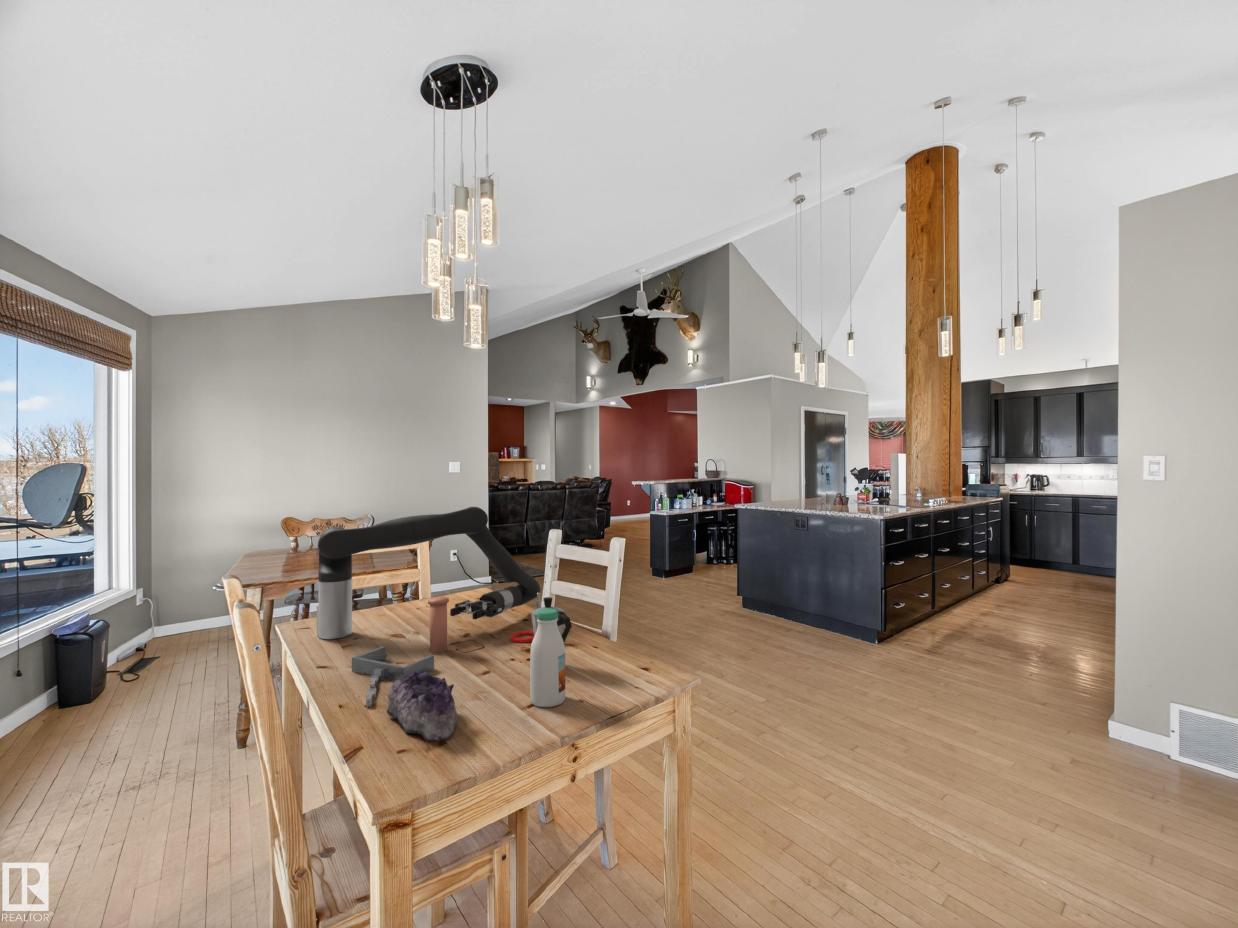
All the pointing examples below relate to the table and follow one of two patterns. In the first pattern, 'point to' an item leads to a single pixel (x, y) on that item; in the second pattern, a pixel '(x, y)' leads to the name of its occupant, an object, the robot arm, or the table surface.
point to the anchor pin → (438, 624)
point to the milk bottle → (547, 662)
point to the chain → (371, 690)
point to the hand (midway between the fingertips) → (462, 614)
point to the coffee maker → (561, 620)
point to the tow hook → (521, 640)
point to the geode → (424, 706)
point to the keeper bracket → (388, 665)
